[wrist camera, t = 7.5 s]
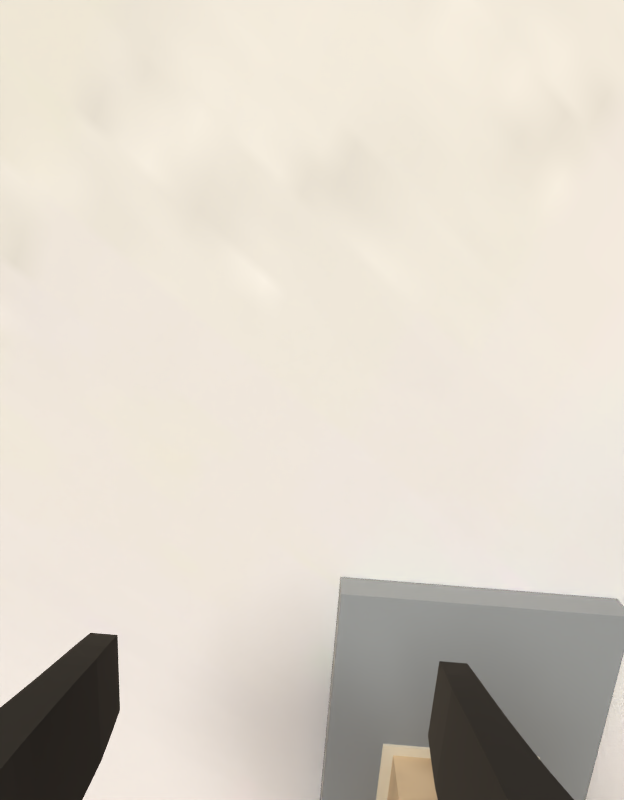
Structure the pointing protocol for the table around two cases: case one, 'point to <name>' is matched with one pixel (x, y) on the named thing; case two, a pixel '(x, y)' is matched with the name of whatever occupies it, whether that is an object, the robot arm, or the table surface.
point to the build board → (488, 658)
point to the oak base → (411, 779)
